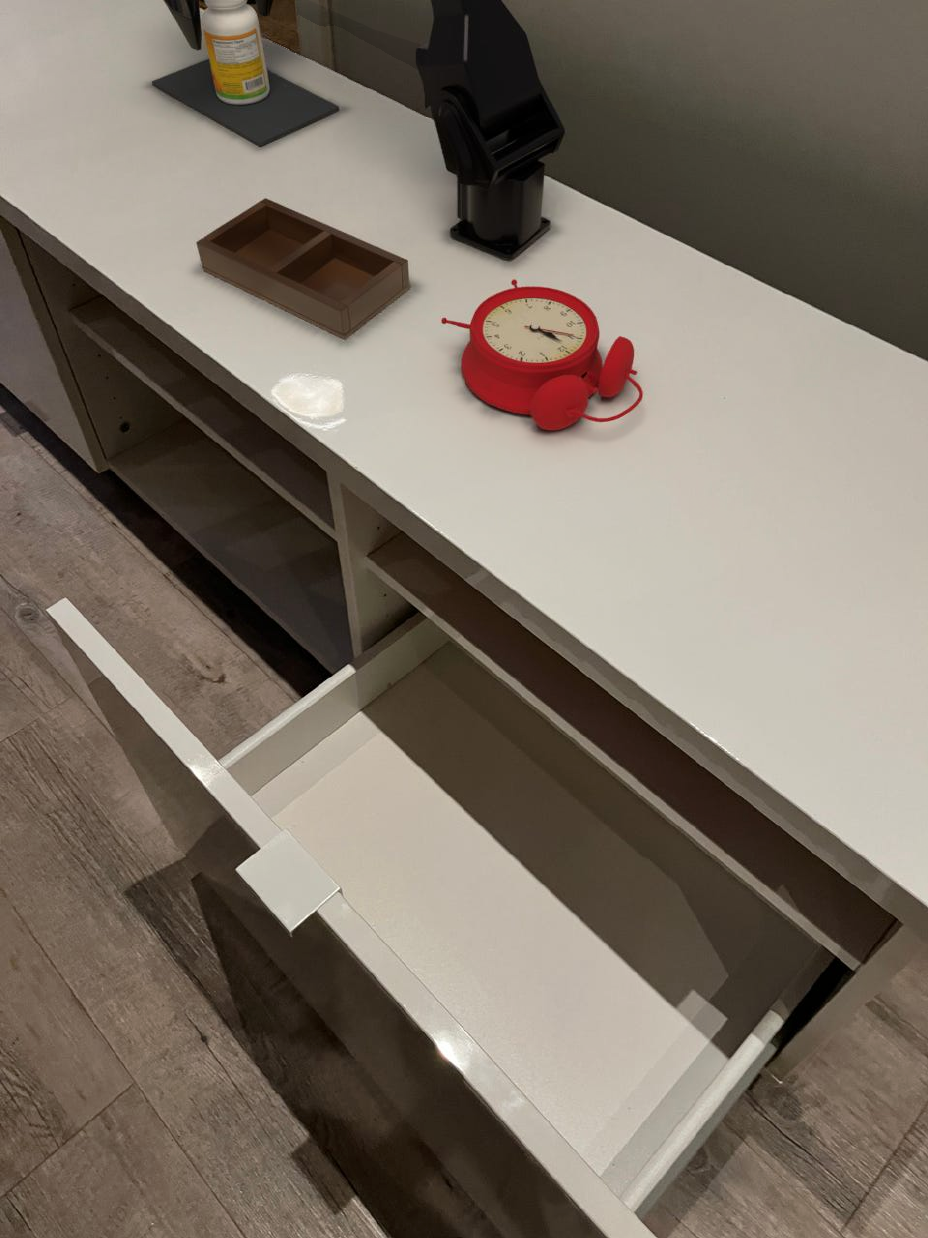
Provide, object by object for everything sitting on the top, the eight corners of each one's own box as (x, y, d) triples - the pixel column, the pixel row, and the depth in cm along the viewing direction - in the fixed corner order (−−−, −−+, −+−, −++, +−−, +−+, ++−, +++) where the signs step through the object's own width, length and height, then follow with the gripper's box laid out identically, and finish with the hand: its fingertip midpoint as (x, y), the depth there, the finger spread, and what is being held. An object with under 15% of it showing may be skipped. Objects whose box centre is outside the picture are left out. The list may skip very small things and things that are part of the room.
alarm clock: (524, 261, 70) (680, 310, 61) (532, 337, 75) (679, 393, 66) (420, 318, 66) (571, 380, 57) (436, 394, 71) (578, 463, 62)
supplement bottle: (225, 79, 95) (203, -29, 87) (276, 83, 95) (259, -27, 87) (210, 104, 92) (185, -6, 84) (262, 108, 92) (243, -3, 84)
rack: (270, 226, 80) (265, 197, 78) (409, 288, 75) (408, 259, 73) (203, 270, 76) (195, 241, 74) (344, 339, 71) (340, 310, 69)
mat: (339, 110, 92) (339, 106, 92) (260, 147, 88) (259, 142, 88) (230, 53, 100) (229, 49, 99) (152, 85, 95) (151, 81, 95)
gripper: (204, -218, 83) (239, -20, 96) (37, -166, 75) (100, 44, 87) (296, -197, 80) (319, 6, 92) (131, -140, 71) (182, 76, 83)
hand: (231, 31), depth 89 cm, fingers open, 9 cm apart
